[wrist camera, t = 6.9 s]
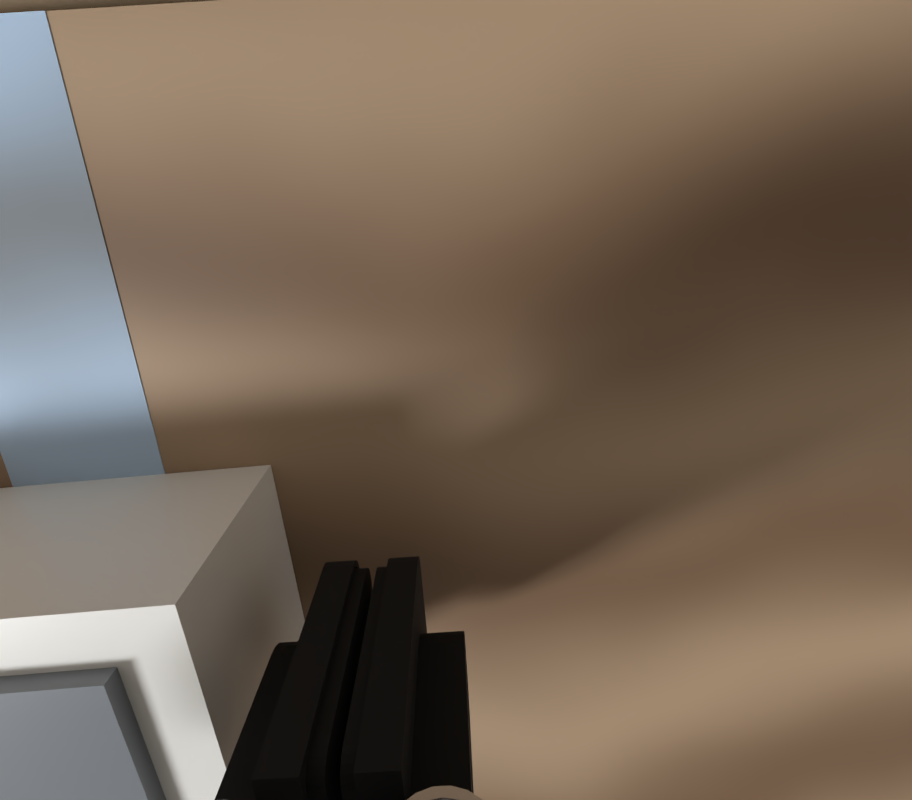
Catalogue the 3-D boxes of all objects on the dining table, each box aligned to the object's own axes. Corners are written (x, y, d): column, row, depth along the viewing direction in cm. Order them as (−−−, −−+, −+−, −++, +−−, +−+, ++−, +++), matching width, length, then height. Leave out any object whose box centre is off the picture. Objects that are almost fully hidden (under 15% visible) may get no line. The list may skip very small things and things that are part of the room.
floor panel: (-491, 71, 9) (-623, 51, 8) (1214, -36, 9) (1322, -70, 8) (-60, 855, 16) (-99, 906, 15) (939, 797, 16) (978, 843, 15)
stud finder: (-134, 499, 11) (-484, 675, 7) (270, 464, 11) (163, 621, 7) (-37, 693, 12) (-271, 929, 8) (314, 665, 12) (250, 889, 8)
